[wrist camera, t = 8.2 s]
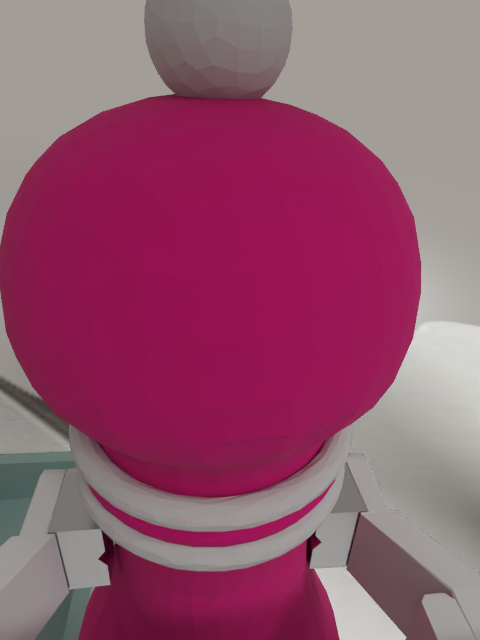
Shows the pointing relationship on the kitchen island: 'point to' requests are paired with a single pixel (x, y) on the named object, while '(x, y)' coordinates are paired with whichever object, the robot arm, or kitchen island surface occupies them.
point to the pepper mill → (210, 326)
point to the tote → (7, 519)
